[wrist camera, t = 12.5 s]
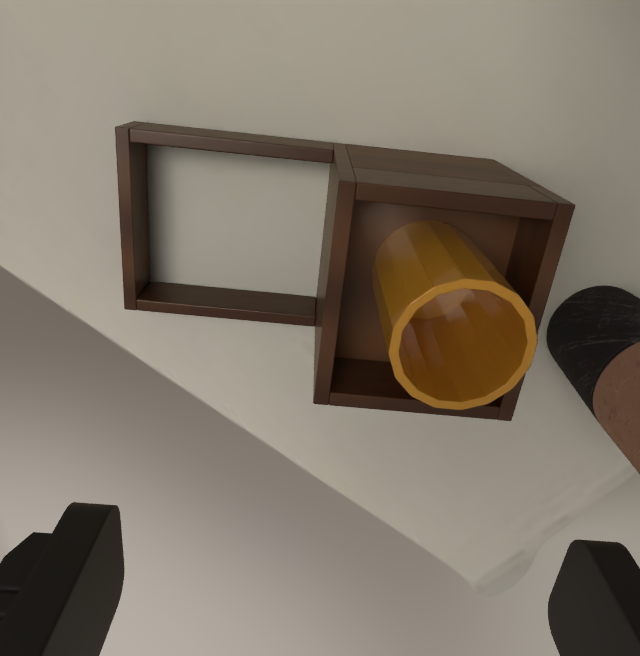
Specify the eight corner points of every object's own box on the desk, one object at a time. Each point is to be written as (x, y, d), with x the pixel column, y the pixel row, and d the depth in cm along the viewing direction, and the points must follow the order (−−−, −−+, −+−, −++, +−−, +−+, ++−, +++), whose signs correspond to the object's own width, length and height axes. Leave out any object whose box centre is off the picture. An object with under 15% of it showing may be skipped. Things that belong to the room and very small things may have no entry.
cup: (380, 213, 29) (403, 272, 21) (489, 225, 29) (554, 287, 21) (364, 315, 31) (379, 403, 23) (465, 325, 32) (515, 415, 24)
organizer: (133, 121, 36) (40, 149, 24) (493, 159, 37) (576, 204, 25) (139, 290, 40) (65, 382, 29) (457, 320, 41) (511, 421, 30)
